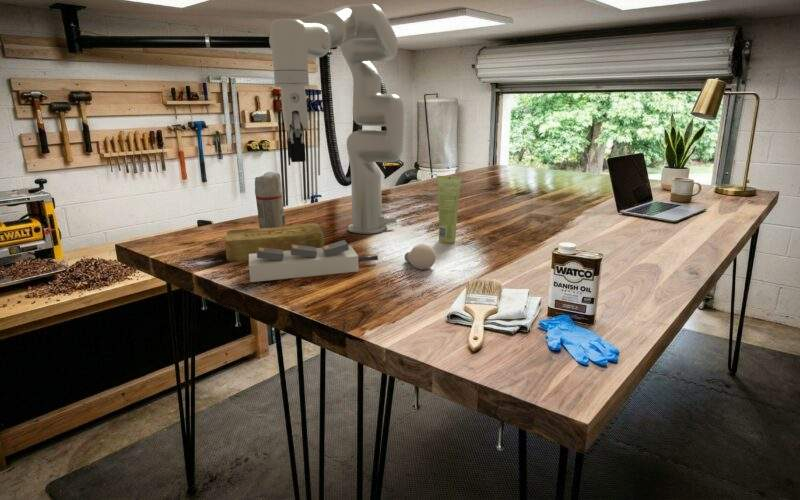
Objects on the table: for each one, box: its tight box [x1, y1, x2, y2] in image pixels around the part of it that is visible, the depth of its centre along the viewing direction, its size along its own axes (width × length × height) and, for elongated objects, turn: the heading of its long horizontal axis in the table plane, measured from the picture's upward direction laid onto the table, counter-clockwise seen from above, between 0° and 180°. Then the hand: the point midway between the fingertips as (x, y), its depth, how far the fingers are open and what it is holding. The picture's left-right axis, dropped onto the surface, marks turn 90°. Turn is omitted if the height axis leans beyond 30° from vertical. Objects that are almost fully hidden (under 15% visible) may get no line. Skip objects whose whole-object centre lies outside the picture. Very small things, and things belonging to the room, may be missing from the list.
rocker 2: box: [290, 244, 317, 258], centre depth 125 cm, size 6×4×2 cm, turn 106°
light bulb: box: [404, 243, 437, 271], centre depth 129 cm, size 7×7×11 cm
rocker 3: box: [322, 239, 349, 257], centre depth 127 cm, size 6×4×2 cm, turn 105°
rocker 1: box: [257, 247, 284, 261], centre depth 123 cm, size 6×4×2 cm, turn 107°
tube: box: [436, 175, 463, 244], centre depth 149 cm, size 6×5×20 cm
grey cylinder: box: [254, 171, 286, 229], centre depth 155 cm, size 8×8×20 cm
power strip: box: [248, 244, 379, 283], centre depth 128 cm, size 32×10×4 cm, turn 106°
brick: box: [225, 222, 325, 263], centre depth 143 cm, size 13×26×7 cm, turn 107°
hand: (296, 159), depth 119 cm, fingers open, 7 cm apart
